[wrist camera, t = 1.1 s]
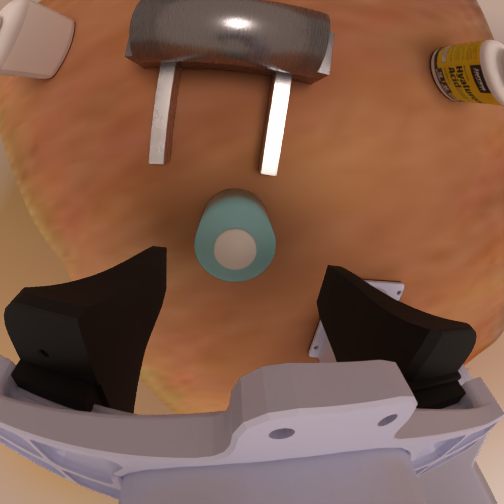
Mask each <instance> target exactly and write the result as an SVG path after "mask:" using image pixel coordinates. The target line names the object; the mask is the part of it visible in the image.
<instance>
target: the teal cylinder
mask: <svg viewBox="0 0 504 504" xmlns="http://www.w3.org/2000/svg"><path fill="white" fill-rule="evenodd" d="M194 248H195V253H196V257H197V259H198V261H199V263H200V264H201V266H202V267H203V268H204V269H205V270H206V271H207V272H208V273H209V274H211V275H212V276H214V277H216V278H218V279H220V280H224V281H229V282H241V281H246V280H249V279H252V278H254V277H256V276H258V275H260V274H261V273H262V272H263V271H264V270H265V269H266V268H267V267H268V266H269V265H270V263H271V261H272V259H273V257H274V254H275V250H276V239H275V235H274V232H273V229H272V226H271V224H270V221H269V218H268V216H267V213H266V210H265V208H264V206H263V204H262V202H261V201H260V200H259V199H258V197H256V196H255V195H254V194H252V193H251V192H249V191H246V190H243V189H227V190H224V191H221V192H219V193H217V194H216V195H215V196H213V197H212V198H211V199H210V201H209V202H208V203H207V205H206V207H205V210H204V212H203V215H202V218H201V221H200V224H199V227H198V230H197V233H196V236H195V242H194Z"/></svg>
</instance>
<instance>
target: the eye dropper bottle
mask: <svg viewBox="0 0 504 504" xmlns="http://www.w3.org/2000/svg"><path fill="white" fill-rule="evenodd" d="M74 27H75V24H74V21H73V20H72V19H70V18H68V17H66V16H64V15H62V14H60V13H58V12H56V11H54V10H52V9H50V8H48V7H46V6H44V5H41V4H39V3H37V2H34V1H32V0H15V1H12V2H10V3H8V4H7V5H6V6H5V7H4V8H3V9H2V10H1V11H0V75H6V76H18V77H28V78H37V79H48V78H51V77H52V76H53V75H55V73H56V72H57V70H58V69H59V67H60V66H61V64H62V62H63V60H64V59H65V57H66V54H67V52H68V50H69V47H70V45H71V42H72V38H73V34H74Z"/></svg>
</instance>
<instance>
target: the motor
mask: <svg viewBox="0 0 504 504" xmlns="http://www.w3.org/2000/svg"><path fill="white" fill-rule="evenodd" d="M333 40H334V33H331V32H330V19H329V16H328V14H326V13H322V12H319V11H315V10H311V9H307V8H303V7H298V6H294V5H289V4H284V3H279V2H273V1H267V0H141V1H140V2H139V3H138V4H137V6H136V8H135V10H134V12H133V15H132V19H131V23H130V31H129V39H128V44H127V48H126V53H125V57H126V58H128V59H130V60H132V61H133V62H135V63H137V64H138V65H140V66H141V67H143V68H160V71H159V77H158V84H157V90H156V97H155V105H154V113H153V122H152V131H151V142H150V154H149V164H165V163H167V162H169V161H170V154H171V143H172V134H173V125H174V116H175V109H176V101H177V94H178V87H179V81H180V75H181V69H182V68H197V69H214V70H226V71H236V72H245V73H252V74H259V75H266V76H272V83H271V90H270V96H269V103H268V109H267V116H266V122H265V129H264V135H263V142H262V149H261V155H260V162H259V169H258V170H259V171H260V173H261V174H266V175H273V176H276V174H277V168H278V162H279V155H280V149H281V143H282V137H283V130H284V124H285V118H286V111H287V105H288V98H289V92H290V85H291V80H294V81H298V82H303V83H307V84H313V83H314V82H316V81H318V80H320V79H322V78H324V77H326V76H328V75H329V72H330V64H331V56H332V48H333Z"/></svg>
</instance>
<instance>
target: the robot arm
mask: <svg viewBox="0 0 504 504" xmlns="http://www.w3.org/2000/svg"><path fill="white" fill-rule="evenodd" d="M166 254H167V248H165V247H156V246H152V247H150V248H148V249H146V250H144V251H142V252H141V253H139V254H137V255H135V256H134V257H132V258H130V259H128V260H126V261H124V262H122V263H120V264H118V265H116V266H115V267H113V268H110V269H108V270H106V271H104V272H101V273H98V274H96V275H93V276H90V277H87V278H83V279H80V280H76V281H72V282H68V283H63V284H57V285H51V286H40V287H25V288H23V289H22V290H21V291H20V293H19V294H18V295H17V296H16V297H15V298H14V299H13V300H12V301H11V303H10V304H9V305H8V306H7V307H6V308H5V312H4V320H5V326H6V329H7V331H8V334H9V336H10V339H11V341H12V343H13V345H14V347H15V349H16V351H17V353H18V355H19V357H20V361H19V362H18V364H17V365H15V364H14V363H13V362H12V361H11V360H9V359H8V358H5V357H3V356H1V355H0V442H1V443H2V444H4V445H5V446H7V447H8V448H10V449H12V450H13V451H15V452H17V453H18V454H20V455H22V456H23V457H25V458H27V459H29V460H30V461H32V462H34V463H36V464H38V465H39V466H41V467H43V468H45V469H47V470H49V471H51V472H53V473H55V474H57V475H59V476H61V477H63V478H65V479H67V480H70V481H71V482H74V483H76V484H78V485H80V486H83V487H85V488H88V489H90V490H93V491H96V492H98V493H101V494H104V495H107V496H110V497H112V498H115V499H119V504H497V502H496V500H495V498H494V496H493V493H492V491H491V489H490V487H489V485H488V483H487V482H486V480H485V478H484V476H483V474H482V472H481V470H480V468H479V466H478V465H477V463H476V461H475V460H476V458H477V456H478V454H479V452H480V450H481V448H482V446H483V444H484V442H485V439H486V437H487V435H488V433H489V431H490V430H491V429H492V428H493V427H494V426H495V425H496V424H497V423H498V422H499V421H500V420H501V419H502V418H503V417H504V412H503V411H502V409H501V407H500V406H499V404H498V403H497V401H496V400H495V398H494V397H493V395H492V394H491V392H490V391H489V389H488V388H487V386H486V385H485V383H484V382H483V380H482V379H481V378H480V377H479V378H476V379H473V378H472V377H471V375H470V374H469V372H468V371H467V369H466V368H465V366H464V365H463V363H464V362H465V360H466V359H467V357H468V356H469V355H470V353H471V351H472V349H473V347H474V345H475V342H476V332H475V331H474V329H473V328H472V327H471V326H470V325H469V324H467V323H463V322H458V321H453V320H449V319H444V318H441V317H438V316H434V315H431V314H428V313H425V312H423V311H420V310H418V309H415V308H413V307H410V306H408V305H406V304H404V303H402V302H400V301H399V299H400V297H401V295H402V292H403V290H404V284H403V283H401V282H387V281H373V280H363V279H361V278H360V277H358V276H356V275H355V274H353V273H352V272H350V271H348V270H347V269H345V268H343V267H340V266H331V265H328V267H327V270H326V274H325V277H324V280H323V284H322V287H321V290H320V293H319V296H318V299H317V306H318V311H319V316H320V322H319V325H318V328H317V330H316V333H315V336H314V339H313V341H312V344H311V347H310V349H309V352H308V354H309V356H310V357H318V360H319V363H281V364H274V365H267V366H262V367H260V368H258V369H256V370H254V371H252V372H250V373H248V374H246V375H244V376H242V377H241V378H240V379H239V381H238V382H237V384H236V385H235V387H234V388H233V389H232V391H231V397H230V403H229V406H228V408H227V410H226V411H218V412H207V413H193V414H174V415H137V414H133V413H134V405H135V398H136V392H137V386H138V381H139V376H140V370H141V366H142V361H143V357H144V353H145V349H146V346H147V343H148V340H149V338H150V335H151V333H152V330H153V327H154V325H155V322H156V320H157V317H158V315H159V312H160V310H161V307H162V304H163V300H164V296H165V292H166ZM398 291H399V292H398ZM397 292H398V293H397ZM315 346H316V347H315Z"/></svg>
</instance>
